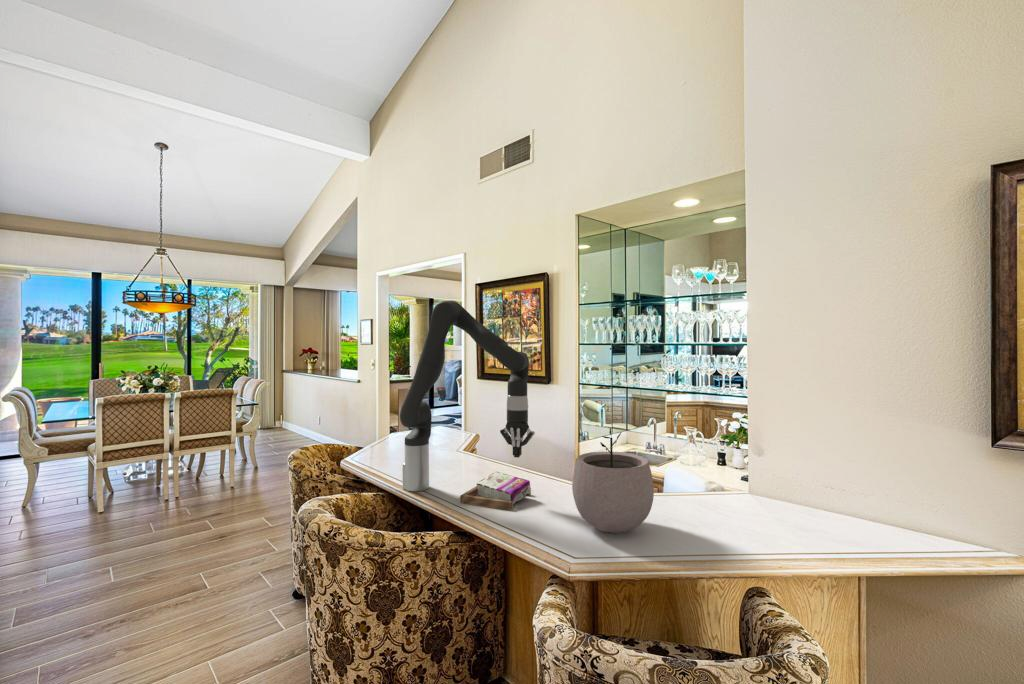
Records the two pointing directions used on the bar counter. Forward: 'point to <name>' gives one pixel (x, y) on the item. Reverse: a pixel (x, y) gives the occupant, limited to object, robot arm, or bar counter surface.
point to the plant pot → (613, 489)
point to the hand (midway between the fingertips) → (517, 456)
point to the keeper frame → (485, 500)
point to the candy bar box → (503, 487)
